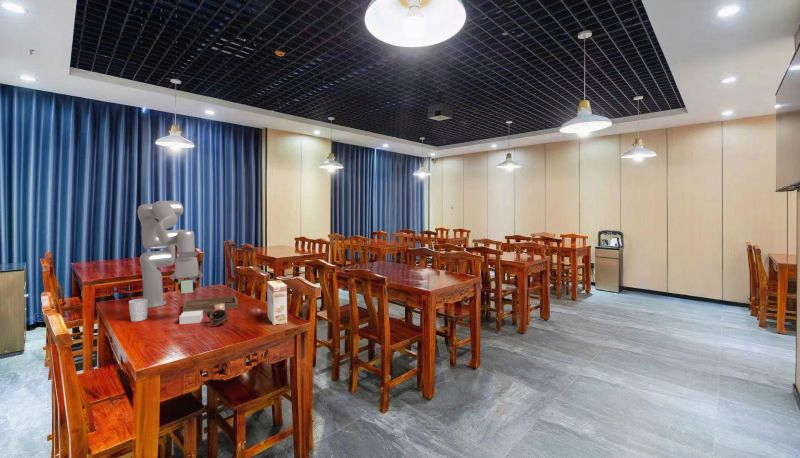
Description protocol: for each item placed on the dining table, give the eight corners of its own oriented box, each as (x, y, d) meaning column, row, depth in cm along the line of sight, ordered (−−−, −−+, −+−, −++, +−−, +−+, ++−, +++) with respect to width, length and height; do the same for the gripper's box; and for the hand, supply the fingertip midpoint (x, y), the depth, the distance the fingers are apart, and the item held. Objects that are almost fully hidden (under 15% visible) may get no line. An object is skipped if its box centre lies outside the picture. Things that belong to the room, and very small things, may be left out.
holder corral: (184, 307, 207) (184, 301, 207) (236, 301, 220) (235, 295, 220) (182, 315, 192) (182, 308, 192) (237, 308, 205) (237, 302, 205)
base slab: (183, 319, 186) (183, 311, 186) (203, 317, 189) (202, 310, 189) (179, 324, 177) (179, 316, 177) (200, 323, 181) (199, 315, 180)
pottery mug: (234, 321, 184) (232, 310, 179) (221, 335, 176) (219, 324, 171) (213, 314, 185) (211, 303, 181) (200, 327, 178) (197, 316, 173)
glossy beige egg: (214, 312, 197) (214, 304, 196) (224, 311, 199) (224, 302, 199) (214, 315, 192) (214, 306, 192) (224, 314, 194) (224, 305, 194)
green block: (182, 291, 183) (181, 279, 182) (193, 290, 185) (193, 278, 185) (181, 293, 178) (180, 281, 178) (192, 292, 181) (192, 280, 180)
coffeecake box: (287, 323, 180) (287, 285, 179) (273, 325, 177) (272, 286, 175) (281, 315, 193) (280, 279, 192) (267, 317, 189) (266, 281, 188)
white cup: (138, 322, 180) (137, 302, 179) (125, 321, 181) (124, 301, 181) (152, 317, 187) (151, 298, 187) (139, 316, 189) (138, 298, 188)
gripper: (205, 253, 188) (206, 287, 189) (167, 255, 180) (168, 290, 181) (205, 255, 181) (206, 290, 182) (165, 257, 173) (166, 294, 174)
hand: (187, 290), depth 182 cm, fingers closed on green block, 5 cm apart
